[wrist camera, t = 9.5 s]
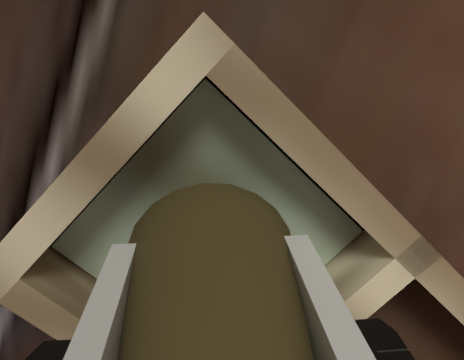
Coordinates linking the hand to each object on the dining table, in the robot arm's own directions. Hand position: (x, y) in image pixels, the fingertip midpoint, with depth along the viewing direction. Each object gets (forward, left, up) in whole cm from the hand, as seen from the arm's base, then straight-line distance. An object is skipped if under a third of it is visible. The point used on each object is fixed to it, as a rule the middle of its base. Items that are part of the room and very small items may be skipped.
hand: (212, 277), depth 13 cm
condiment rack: (+5, 0, -3) cm, 6 cm away
